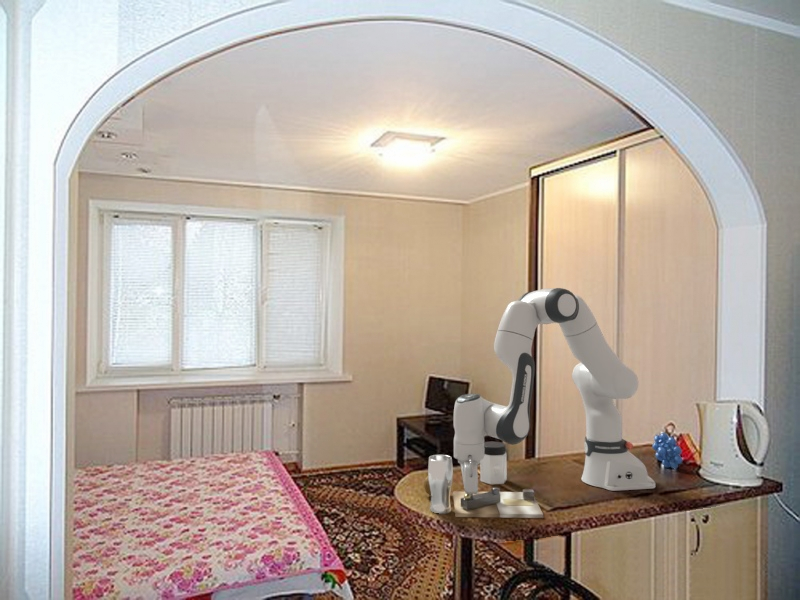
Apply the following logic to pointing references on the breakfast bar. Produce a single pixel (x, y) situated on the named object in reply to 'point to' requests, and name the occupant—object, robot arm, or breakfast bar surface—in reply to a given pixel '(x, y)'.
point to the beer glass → (440, 482)
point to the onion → (427, 486)
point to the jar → (494, 463)
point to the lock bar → (481, 499)
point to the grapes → (667, 450)
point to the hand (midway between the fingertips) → (469, 498)
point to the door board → (502, 506)
